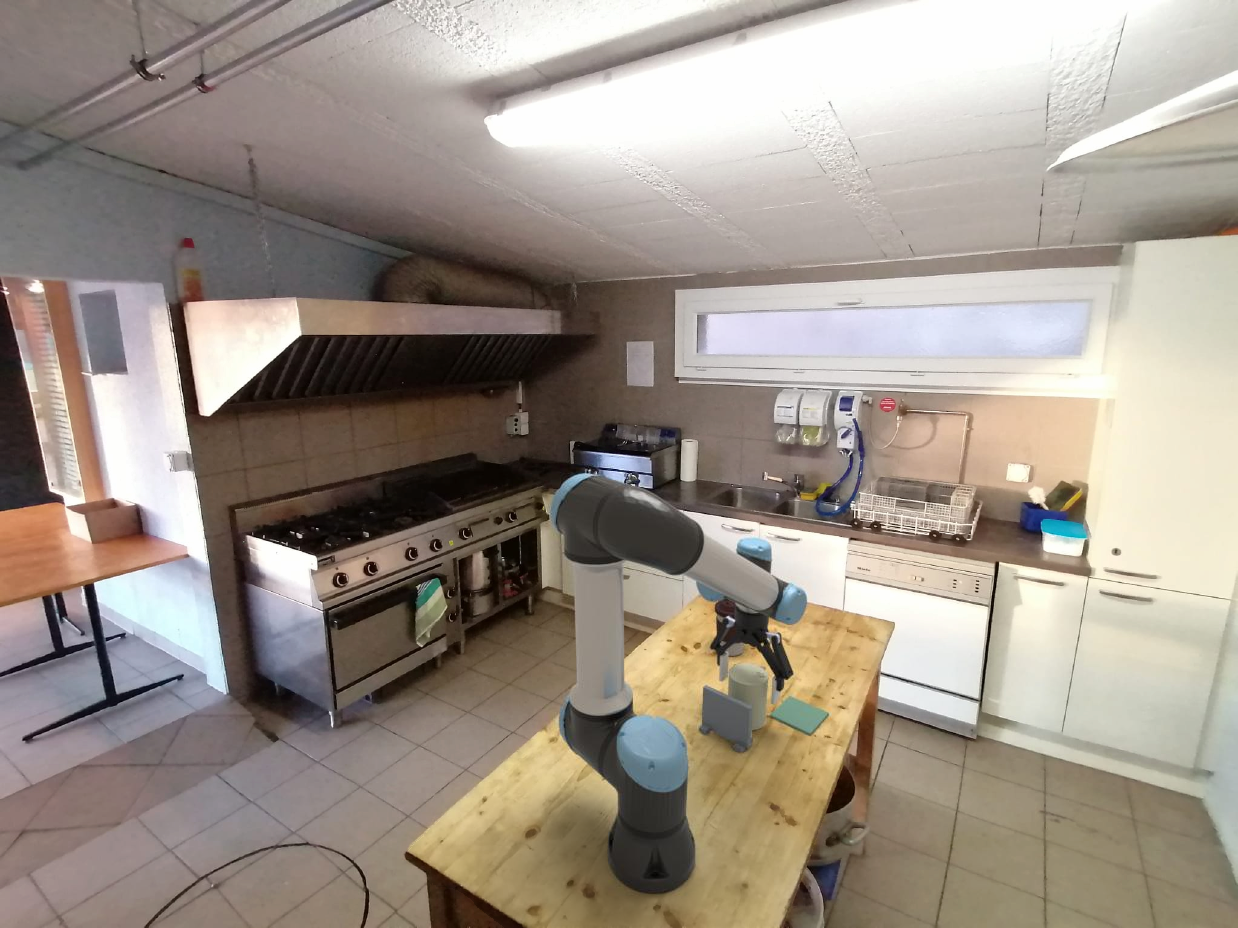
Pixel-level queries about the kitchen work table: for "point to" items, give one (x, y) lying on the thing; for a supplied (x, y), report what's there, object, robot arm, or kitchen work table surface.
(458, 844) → the kitchen work table surface
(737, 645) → the coffee cup
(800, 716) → the mat
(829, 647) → the kitchen work table surface
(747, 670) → the can
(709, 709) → the screen
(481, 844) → the kitchen work table surface
